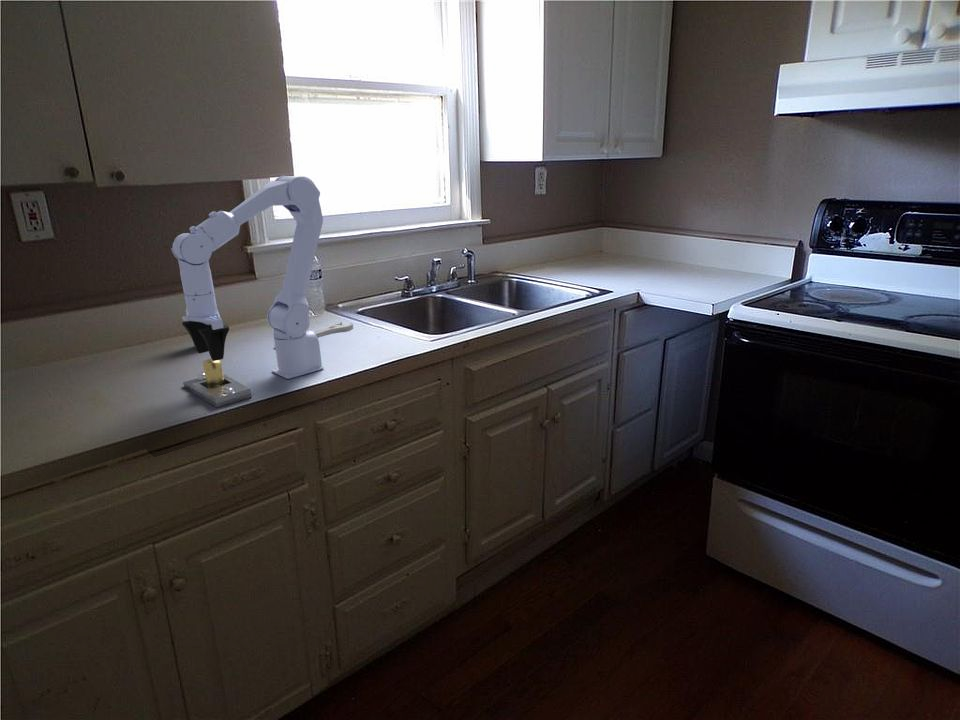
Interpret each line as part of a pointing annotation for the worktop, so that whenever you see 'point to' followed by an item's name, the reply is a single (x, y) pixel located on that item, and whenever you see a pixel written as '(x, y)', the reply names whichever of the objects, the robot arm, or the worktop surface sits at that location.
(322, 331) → the adjustable wrench
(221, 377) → the brass pin
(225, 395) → the studded plate with cutout
